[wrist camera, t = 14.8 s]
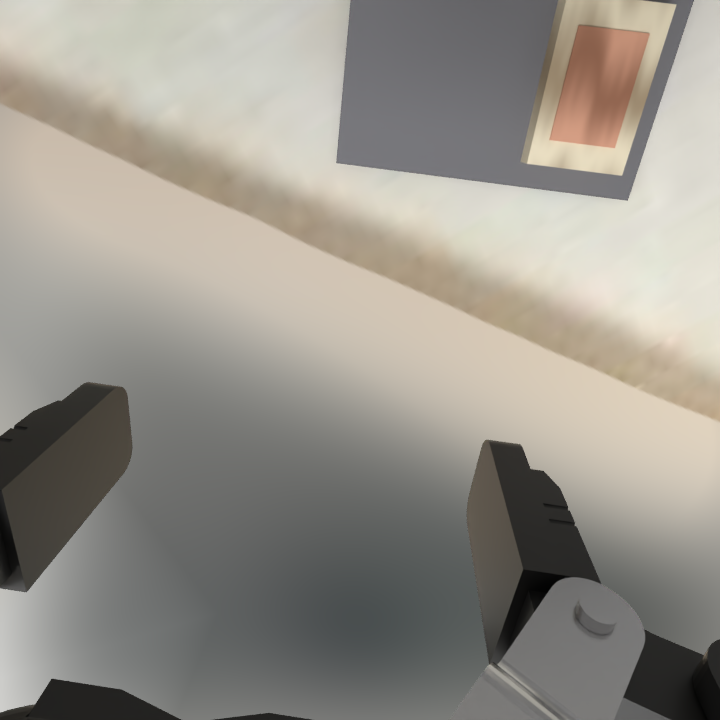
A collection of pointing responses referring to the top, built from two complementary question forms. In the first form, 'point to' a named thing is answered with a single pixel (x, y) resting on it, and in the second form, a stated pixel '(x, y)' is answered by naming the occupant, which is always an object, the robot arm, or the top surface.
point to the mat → (466, 92)
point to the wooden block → (595, 83)
